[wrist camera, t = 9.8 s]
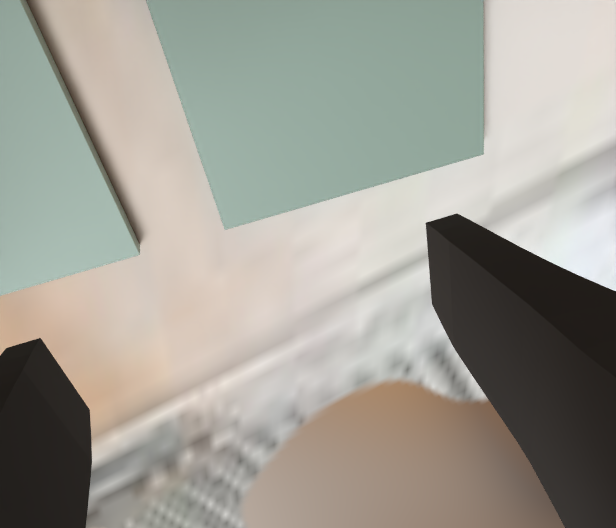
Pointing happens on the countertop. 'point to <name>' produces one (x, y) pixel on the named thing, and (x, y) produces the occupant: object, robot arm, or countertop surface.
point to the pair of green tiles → (242, 116)
